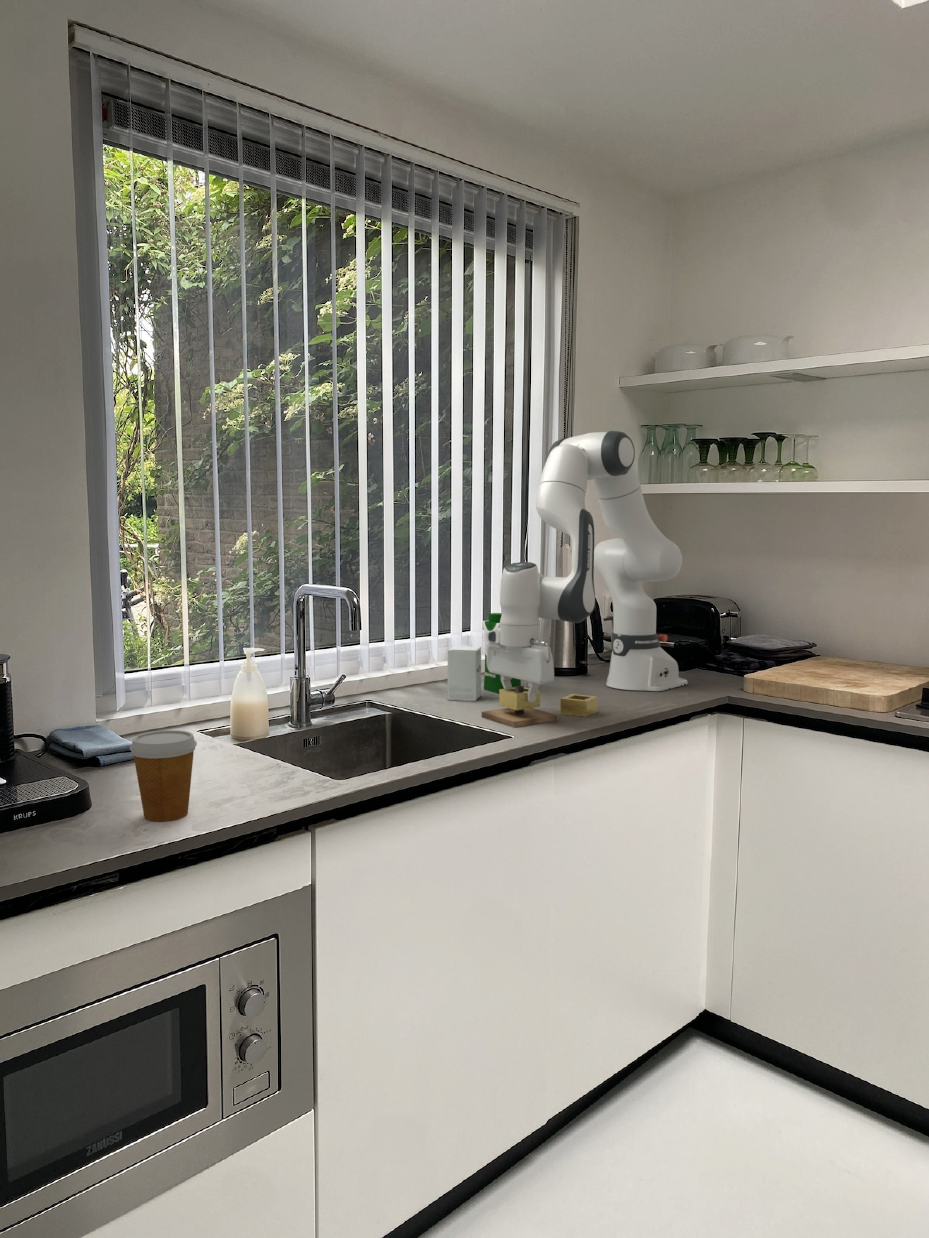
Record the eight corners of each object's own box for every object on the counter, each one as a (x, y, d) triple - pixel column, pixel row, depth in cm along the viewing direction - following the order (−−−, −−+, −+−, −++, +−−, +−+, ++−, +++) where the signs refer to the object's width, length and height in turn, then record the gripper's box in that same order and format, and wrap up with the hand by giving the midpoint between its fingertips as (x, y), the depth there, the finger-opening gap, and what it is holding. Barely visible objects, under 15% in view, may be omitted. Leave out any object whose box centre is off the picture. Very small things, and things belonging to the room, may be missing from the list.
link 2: (572, 708, 212) (572, 693, 211) (597, 711, 208) (597, 696, 208) (560, 714, 206) (560, 698, 206) (586, 717, 203) (586, 701, 203)
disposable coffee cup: (158, 802, 142) (155, 727, 141) (211, 808, 140) (209, 731, 138) (118, 821, 133) (115, 742, 132) (174, 828, 130) (171, 746, 129)
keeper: (523, 710, 210) (524, 680, 209) (557, 720, 200) (557, 688, 199) (481, 717, 203) (481, 685, 202) (514, 727, 193) (514, 694, 192)
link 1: (522, 701, 206) (522, 686, 205) (539, 706, 200) (539, 690, 200) (499, 705, 202) (499, 689, 202) (516, 710, 197) (516, 694, 196)
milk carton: (478, 689, 236) (478, 612, 234) (506, 685, 241) (506, 610, 239) (498, 694, 229) (499, 616, 226) (526, 690, 234) (527, 613, 231)
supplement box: (476, 701, 220) (476, 650, 219) (446, 700, 222) (446, 649, 220) (481, 695, 227) (482, 645, 226) (453, 694, 229) (453, 645, 227)
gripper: (561, 640, 193) (560, 704, 194) (503, 630, 209) (503, 689, 211) (538, 643, 189) (537, 708, 191) (481, 632, 206) (481, 692, 207)
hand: (519, 698), depth 201 cm, fingers closed on link 1, 6 cm apart
